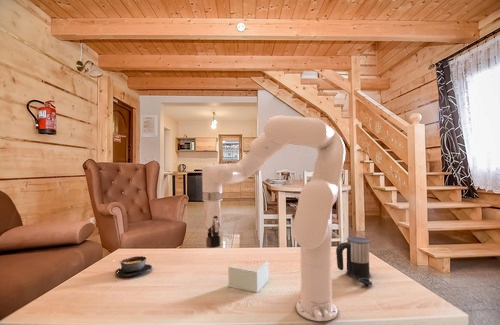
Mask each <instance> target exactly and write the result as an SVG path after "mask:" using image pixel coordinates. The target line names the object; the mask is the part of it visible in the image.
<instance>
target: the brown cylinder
mask: <svg viewBox="0 0 500 325" xmlns="http://www.w3.org/2000/svg"><path fill="white" fill-rule="evenodd" d="M221 239H222V238H221V236H219V243H220V245H219V246H217V247H211V236H210V237H208V236H207V237H206V238H205V245H206V246H205V247H206V248H209V249H213V248H214V249H215V248H219V247H221V245H222V244H221Z"/></svg>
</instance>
